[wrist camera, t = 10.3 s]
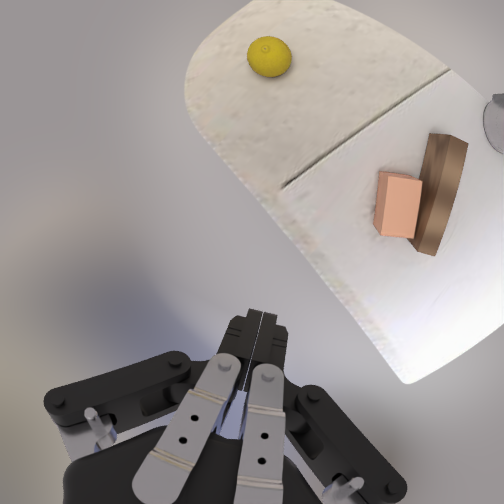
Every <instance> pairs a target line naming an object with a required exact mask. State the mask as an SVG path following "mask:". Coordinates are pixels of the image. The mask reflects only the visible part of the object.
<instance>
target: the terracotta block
mask: <svg viewBox="0 0 504 504" xmlns="http://www.w3.org/2000/svg"><path fill="white" fill-rule="evenodd" d="M421 189H422V181H421V180H419V179H417V178H415V177H412V176H410V175H404V174H397V173H390V172H382V171H379V181H378V191H377V200H376V208H375V216H374V223H373V224H374V226H375V227H376V229H377V230H378V232H379V234H380V235H382V236H393V237H403V238H412V239H413V238H414V233H415V228H416V222H417V216H418V210H419V204H420V197H421Z"/></svg>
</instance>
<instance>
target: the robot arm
mask: <svg viewBox="0 0 504 504" xmlns="http://www.w3.org/2000/svg"><path fill="white" fill-rule="evenodd" d="M484 128H485V132H486V135H487V138H488V140H489V142H490V143H491V145H492V146H493V147H494V148H495V149H496V150H497V151H498V152H500V153H502V154H504V94H494V95H493V99H492V101H491V102H489V103H488V105H487V106H486V109H485V112H484ZM262 313H263V312H262V311H258V310H254V309H249V310H248V313H247V316H246V317H242V316H235V317H234V318H233V319H232V320H230V323H229V325H228V328H227V330H226V333H225V335H224V337H223V340H222V342H221V345H220V347H219V349H218V352H217V354H216V355H214V356H213V357H212V358H211V359H210V360H207V361H191V360H190V358H189V357H188V356H187V355H186V354H185V353H183V352H179V351H170V352H166V353H163V354H161V355H158V356H155V357H152V358H149V359H147V360H144V361H141V362H138V363H135V364H132V365H129V366H126V367H123V368H120V369H117V370H114V371H111V372H108V373H105V374H102V375H98V376H95V377H92V378H89V379H86V380H82V381H78V382H75V383H72V384H68V385H65V386H61V387H58V388H54V389H51V390H50V391H48V393H46V395H45V397H44V406H45V408H46V410H47V412H48V413H49V415H50V416H51V419H52V420H53V422H54V423H55V425H56V426H57V427H58V429H59V431H60V434H61V437H62V439H63V442H64V445H65V447H66V449H67V452H68V454H69V456H70V459H71V461H72V463H71V464H70V465H69V466H68V467H67V469H66V471H65V473H64V477H63V489H64V499H63V504H322V503H321V501H320V500H319V498H318V497H317V495H316V494H315V493H314V491H313V490H312V488H311V487H310V485H309V484H308V483H307V481H306V480H305V478H304V477H303V475H302V474H301V472H300V471H299V469H298V468H297V467H296V465H295V464H294V463H293V462H292V461H291V460H290V459H289V458H288V457H286V456H285V455H284V437H285V435H286V436H287V437H288V439H289V440H290V442H291V443H292V445H293V446H294V447H295V449H296V450H297V451H298V453H299V454H300V455H301V457H302V458H303V460H304V461H305V462H306V464H307V465H308V466H309V468H310V469H311V470H312V472H314V474H315V475H316V477H317V478H318V479H319V481H321V483H322V484H323V486H324V487H325V489H324V491H323V492H322V500H323V502H324V504H395V503H397V502H399V501H400V500H401V499H403V498H404V496H405V495H406V492H407V484H406V481H405V480H404V478H402V476H401V475H400V474H399V473H398V472H397V471H396V470H395V469H394V468H393V467H392V466H391V464H390V463H388V461H387V460H386V459H385V458H384V457H383V456H382V455H381V454H380V452H379V451H378V450H377V449H376V448H375V447H374V446H373V445H372V444H371V443H370V441H369V440H368V439H367V438H366V437H365V436H364V435H363V434H362V433H361V431H360V430H359V429H358V428H357V427H356V426H355V425H354V424H353V422H352V421H351V420H350V419H349V418H348V417H347V415H346V414H345V413H344V412H343V411H342V410H341V409H340V407H339V406H338V405H337V404H336V403H335V402H334V401H333V399H332V398H331V397H330V396H329V395H328V394H327V393H326V391H325V390H324V389H322V388H321V387H319V386H316V385H306V386H303V387H302V388H301V387H299V386H297V385H294V384H293V383H291V382H290V381H289V380H288V379H287V378H286V377H285V375H284V371H283V369H284V362H285V354H286V347H287V340H288V332H287V330H286V327H284V326H280V325H276V320H277V315H275V314H271V313H266V312H264V314H263V318H262V321H261V317H262ZM260 321H261V325H260ZM259 326H260V329H259ZM258 330H259V333H258ZM257 334H258V336H257ZM256 338H257V340H256ZM255 342H256V344H255ZM254 346H255V348H254ZM253 349H254V351H253ZM252 353H253V355H252ZM251 357H252V359H251ZM250 360H251V363H250ZM249 364H250V367H249ZM248 368H249V371H248ZM247 371H248V375H247V379H246V383H245V387H244V391H245V392H247V395H246V399H245V403H244V407H243V413H242V418H241V424H240V430H239V436H238V439H226V438H224V437H222V436H220V432H221V430H222V427H223V425H224V423H225V420H226V418H227V415H228V413H229V411H230V408H231V406H232V403H233V400H234V399H235V397H236V394H237V391H238V390H241V391H242V389H243V385H244V382H245V378H246V374H247ZM176 410H177V411H176ZM174 411H176V413H175V414H174V416H173V418H172V419H171V421H170V423H169V424H168V425H167V426H160V427H156V428H153V429H151V430H149V431H147V432H144V433H142V434H140V435H138V436H135V437H133V438H131V439H128V440H126V441H123V442H121V443H118V444H116V445H113V444H114V443H115V441H116V439H117V434H119V433H122V432H124V431H126V430H130V429H132V428H135V427H137V426H140V425H143V424H145V423H148V422H150V421H153V420H155V419H157V418H160V417H162V416H164V415H167V414H169V413H171V412H174ZM112 445H113V446H112ZM110 446H111V447H110Z"/></svg>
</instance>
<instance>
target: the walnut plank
mask: <svg viewBox="0 0 504 504" xmlns="http://www.w3.org/2000/svg"><path fill="white" fill-rule="evenodd" d="M467 148H468V143H466V142H464V141H462V140H460V139H458V138H456V137H454V136H452V135H446V134H432V133H429V138H428V143H427V148H426V152H425V157H424V161H423V165H422V169H421V173H420V177H419V180H421V181H422V189H421V197H420V204H419V210H418V216H417V222H416V228H415V233H414V238H413V239H412V238H407V239H408V240H409V242H410V243H411V244H412V245H413V247H414V248H415V249H416V250H417V252H421V253H424V254H428V255H431V256H435V255H436V253H437V250H438V247H439V245H440V242H441V239H442V237H443V234H444V231H445V228H446V225H447V222H448V219H449V216H450V213H451V210H452V207H453V203H454V200H455V197H456V193H457V190H458V186H459V182H460V178H461V174H462V170H463V166H464V162H465V157H466V153H467Z"/></svg>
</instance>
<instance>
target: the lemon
mask: <svg viewBox="0 0 504 504" xmlns="http://www.w3.org/2000/svg"><path fill="white" fill-rule="evenodd" d="M291 59H292V56H291V51H290V49H289V47H288V46H287V45H286V44H285V43H284V42H283V41H282V40H280V39H278V38H275V37H270V36H266V37H261V38H258V39H257V40H255V41H254V42H253V43H252V44H251V45H250V47H249V49H248V52H247V60H248V62H249V65H250V66H251V68H252V69H253V70H254V71H255V72H256V73H258V74H260V75H262V76H266V77H275V76H279V75H281V74H283V73H284V72H285V71H287V69H288V68H289V66H290V64H291Z"/></svg>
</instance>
